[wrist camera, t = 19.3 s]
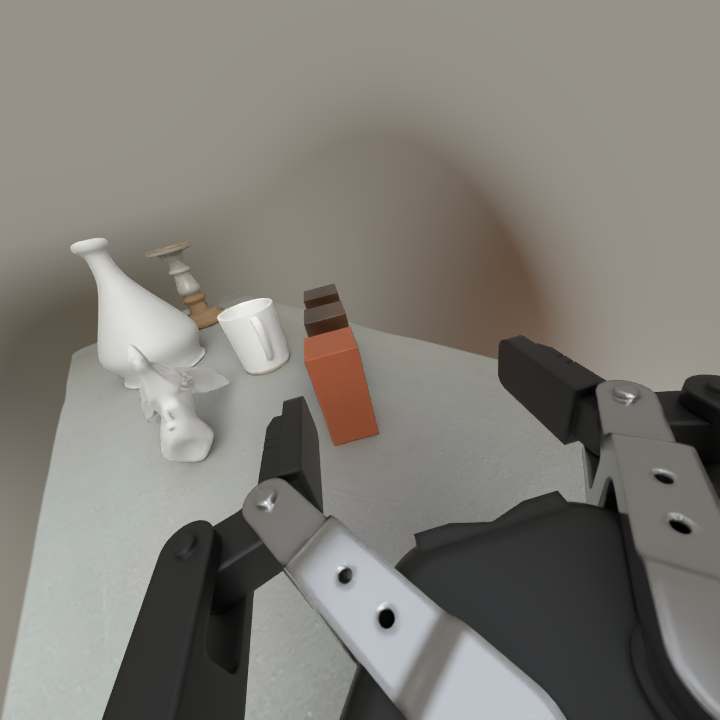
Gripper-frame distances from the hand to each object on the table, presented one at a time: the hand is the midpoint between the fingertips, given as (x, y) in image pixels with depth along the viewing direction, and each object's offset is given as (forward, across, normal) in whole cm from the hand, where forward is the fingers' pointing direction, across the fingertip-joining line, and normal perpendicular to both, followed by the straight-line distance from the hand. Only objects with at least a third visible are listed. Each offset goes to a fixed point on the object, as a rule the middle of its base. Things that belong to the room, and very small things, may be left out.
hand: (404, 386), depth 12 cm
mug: (+38, +15, +16) cm, 44 cm away
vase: (+50, +38, +16) cm, 65 cm away
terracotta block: (+17, +3, +16) cm, 24 cm away
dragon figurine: (+23, +23, +16) cm, 36 cm away
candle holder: (+75, +38, +16) cm, 85 cm away
